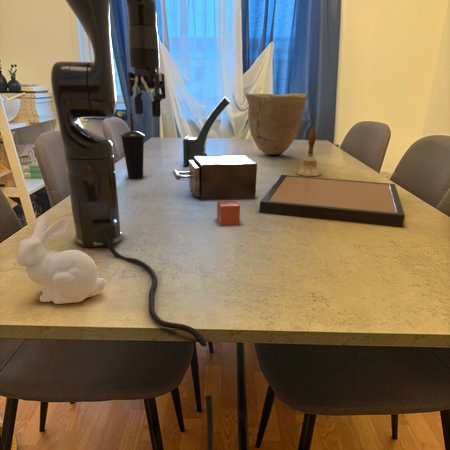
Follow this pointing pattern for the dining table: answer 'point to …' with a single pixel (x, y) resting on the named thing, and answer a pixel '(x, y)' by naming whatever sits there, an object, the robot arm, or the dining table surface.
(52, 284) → the rabbit
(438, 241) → the dining table surface
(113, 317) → the dining table surface
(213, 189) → the cabinet
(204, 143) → the dark grey curved piece
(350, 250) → the dining table surface
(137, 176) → the drinking cup
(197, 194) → the drawer
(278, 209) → the cork board
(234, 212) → the block
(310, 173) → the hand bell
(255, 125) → the clay pot
